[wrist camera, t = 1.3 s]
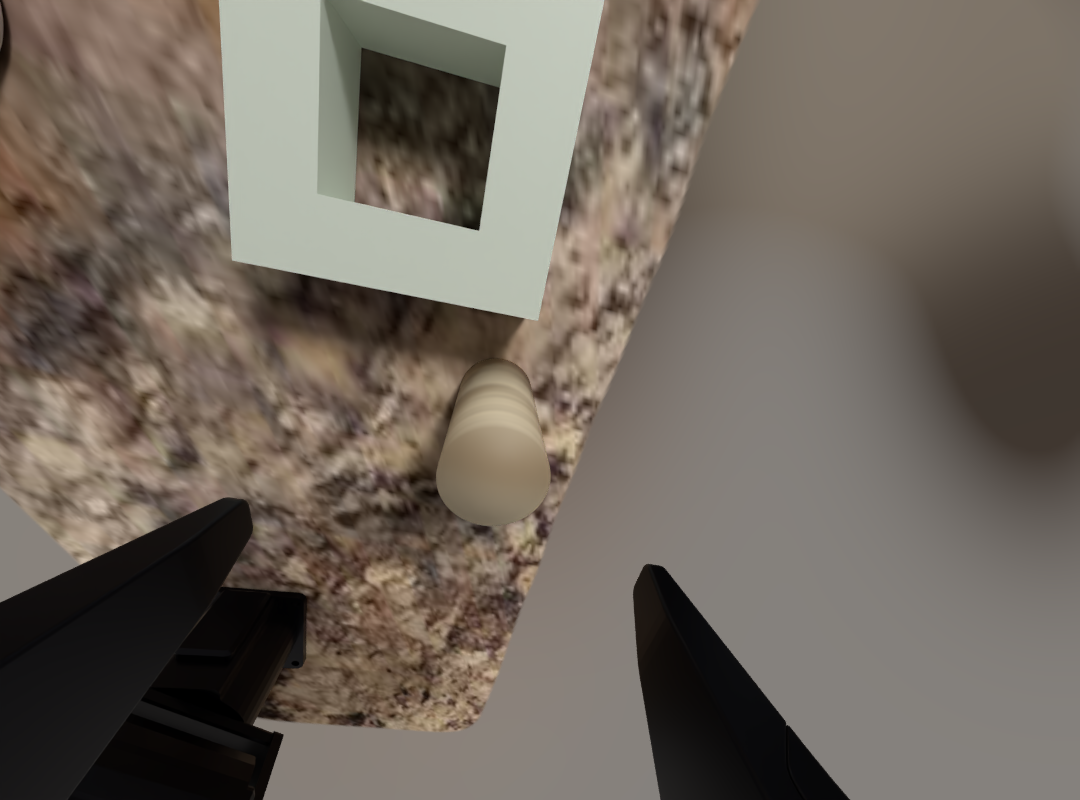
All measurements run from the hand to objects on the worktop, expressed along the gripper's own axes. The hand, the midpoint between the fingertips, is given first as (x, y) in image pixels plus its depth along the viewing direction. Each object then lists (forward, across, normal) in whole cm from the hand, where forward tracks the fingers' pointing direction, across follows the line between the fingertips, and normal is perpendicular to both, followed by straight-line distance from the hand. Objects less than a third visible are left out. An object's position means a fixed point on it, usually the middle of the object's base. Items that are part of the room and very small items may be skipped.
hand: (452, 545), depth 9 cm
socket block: (+15, +5, -8) cm, 17 cm away
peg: (+13, 0, +3) cm, 14 cm away
